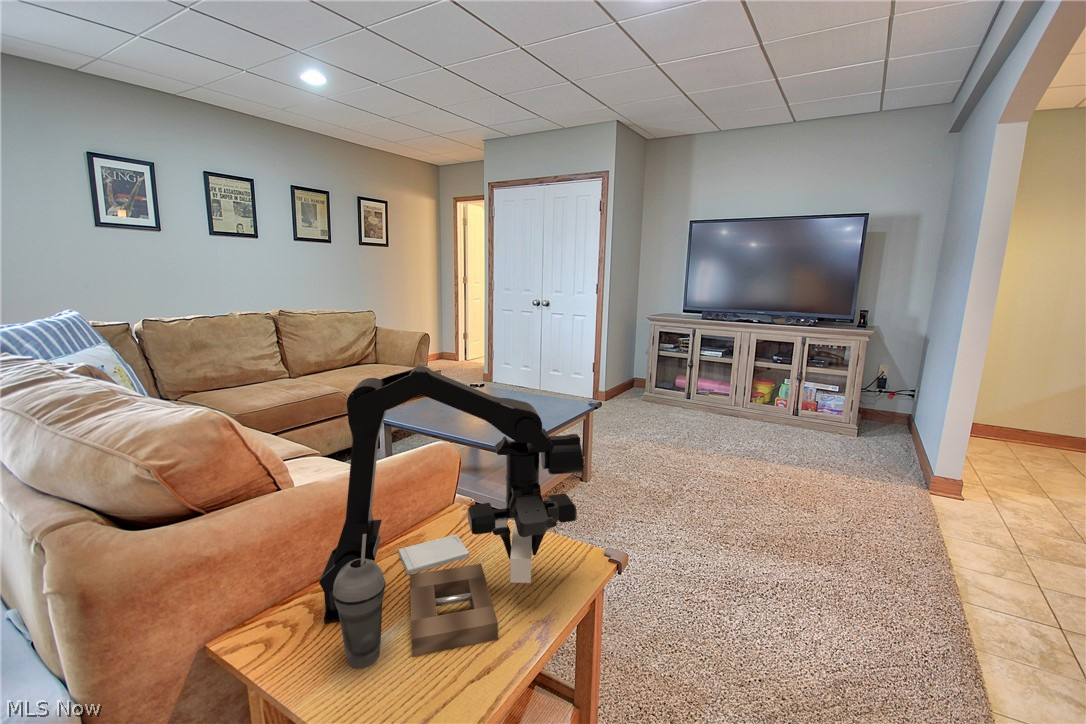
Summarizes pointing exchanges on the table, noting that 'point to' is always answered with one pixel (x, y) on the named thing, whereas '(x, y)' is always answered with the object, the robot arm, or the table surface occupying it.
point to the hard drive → (432, 554)
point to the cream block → (520, 558)
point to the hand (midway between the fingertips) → (521, 556)
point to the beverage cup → (360, 609)
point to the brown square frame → (452, 627)
